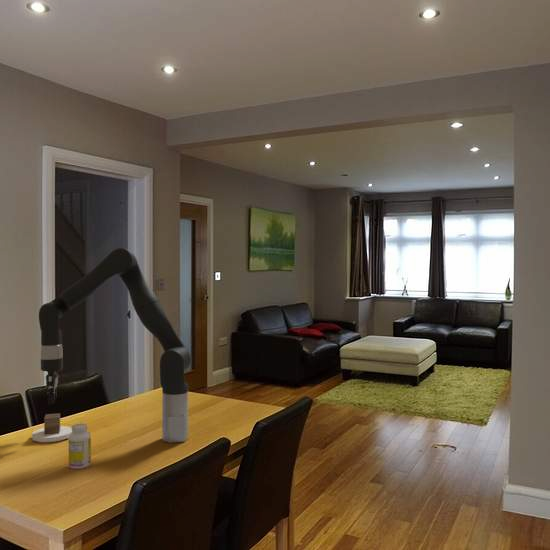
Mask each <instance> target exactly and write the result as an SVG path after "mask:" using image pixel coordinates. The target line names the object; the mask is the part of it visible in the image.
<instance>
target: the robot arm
mask: <svg viewBox="0 0 550 550" xmlns="http://www.w3.org/2000/svg"><path fill="white" fill-rule="evenodd" d="M115 275H118V276H119V277H120V278H121V280H122V282H123V283H124V285H125V286H126V288H127V290H128V293H129V295H130V300H131V303H132V307H133V309H134V311H135V313H136V315H137V317H138V319H139V320H140V322H141V324H142V325H143V326H144V327H145V329H146V330H147V331H148V332H150V334H151V335H152V336H154V337H155V338H156V339H157V340H158V343H160V345H161V347H162V349H163V351H164V352H163V353H162V355H160V360H159V377H160V378H159V379H160V380H159V381H160V386H161V391H162V398H161V399H162V400H161V401H162V402H161V404H162V405H161V406H162V408H161V411H162V414H161V415H162V416H161V417H162V419H161V420H162V422H161V423H162V427H161V430H162V431H161V433H162V435H161V439H162V441H163V442H166V443H168V444H172V443H182V442H183V443H184V442H186V440H188V439H189V423H188V422H189V385H188V383H187V382H186V381H185V371H186V370H187V369H188V368H189V367H190V366H191V363H192V357H191V354H190V352H189V350H188V348H187V347H186V346H185V344H184V343H183V342H182V340H181V339H180V337H179V335H178V334H177V333H176V330H175V329H174V327H173V325H172V322H171V321H170V319H169V318H168V315H167V314H166V312H165V310H164V308H163V306H162V304H161V302H160V300H159V299H158V297H157V296H156V293H155V292H154V291H153V289H152V288H151V286H150V284H149V283H148V282H147V280H146V279H145V276H144V274H143V272H142V270H141V268H140V265H139V263H138V260H137V258H136V256H135V254H134V253H132V252H131V250H130V249H127V248H125V247H117V248H115V249H113V250H112V251H111V252H109V254H108V255H107V256H106V257H104V259H103V260H102V261H101V262H100V263H99V264H98V265H96V266H95V267H94V268H93V269H92V270H91V271H90V272H88V273H87V274H86V275H85V276H83V277H82V278H80V279H79V280H78V281H76V282H75V283H73V284H72V285H70V286H69V287H67V288H66V289H64V290H63V291H62V292H61V294H59V296H58V297H55V298H54V299H52V300H50V302H47V303H44V304H43V305H41V306H40V308H39V311H38V322H39V327H40V333H41V335H40V371H41V372H47V374H46V375H45V387H46V394H47V404H48V405H53V404H55V399H57V398H58V397H57V396H58V395H57V394H58V393H57V388H58V384H59V374H58V371H62V370H63V369H64V357H63V356H64V355H63V354H64V353H63V350H64V349H63V338H62V337H63V336H62V335H63V334H62V330H61V329H60V319H61V318H63V317H65V315H66V314H67V313H68V312H70V311H71V310H72V309H73V308H76V307H77V306H78V305H80V304H81V303H83V302H84V301H85V300H86V299H88V298H89V297H91V295H93V293H95V292H96V291H97V289H98V288H99V287H100V286H101V285H103V284H104V283H105V282H106V281H107V280H109V279H110V278H112V277H114V276H115Z"/></svg>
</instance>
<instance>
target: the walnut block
mask: <svg viewBox="0 0 550 550" xmlns="http://www.w3.org/2000/svg"><path fill="white" fill-rule="evenodd" d="M43 420H44V422H43V426H44V427H43V428H44V435H47V434H59V433H60V426H61V413H60V412H59V413H49V414H48V413H46V414H45V415H44V418H43Z"/></svg>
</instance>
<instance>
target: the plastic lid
mask: <svg viewBox="0 0 550 550" xmlns="http://www.w3.org/2000/svg"><path fill="white" fill-rule="evenodd" d="M71 433H72V427H71V426H66V425H60V433H59V434H47V435H44V427H42V428H39V429H36V430H34V431H33V432H32V433H31V440H33V442H39V443H51V442H52V443H53V442H60V441H63V440H67V439H68V438H69V435H70V434H71Z"/></svg>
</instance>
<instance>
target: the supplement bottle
mask: <svg viewBox="0 0 550 550" xmlns="http://www.w3.org/2000/svg"><path fill="white" fill-rule="evenodd" d="M71 428H72V433H71V434H70V435H69V438H67V439H68V440H67V441H68V443H67V444H68V468H71V469H73V470H79V469H85V468H87V467H89V466H90V465H91V464H92V450H91V449H92V440H91V439H92V435H91V433H90V432H89V431H87V430H88V424H87V423H75V424H73V425H71Z"/></svg>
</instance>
